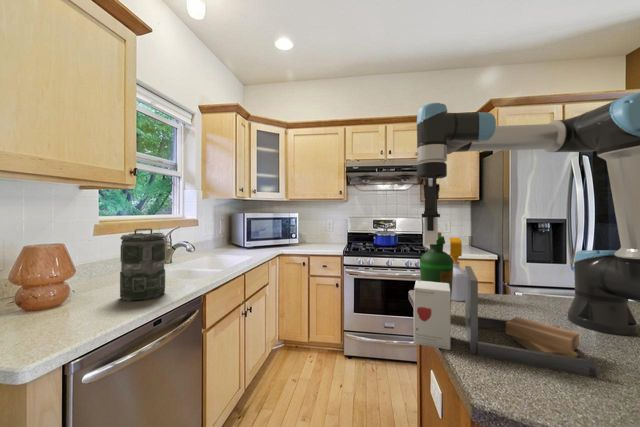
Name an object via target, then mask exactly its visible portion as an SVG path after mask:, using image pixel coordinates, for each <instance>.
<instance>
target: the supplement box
mask: <svg viewBox="0 0 640 427" xmlns="http://www.w3.org/2000/svg"><path fill="white" fill-rule="evenodd" d="M451 308H452V300H451V293H450V285H449V283H439V282H429V281H421V280H418V279H417V280H415V284H414V287H413V344H415V345H420V346H425V347H430V348H438V349H443V350H448V351H450V350H451V316H452V315H451V312H452V311H451V310H452V309H451Z"/></svg>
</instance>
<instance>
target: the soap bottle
mask: <svg viewBox="0 0 640 427" xmlns="http://www.w3.org/2000/svg"><path fill="white" fill-rule="evenodd" d="M448 239H449V243H450V244H449V248H450V249H449V253H448V254H449V255H450V256H451V257H452V259H453V260H454V263H453V280H452V297H451V302H452V301H454V302H465V269H463V268H461V266H460V261H458V259H459V257H462V254H463V253H462V249H463V247H462V239H461V237H449V238H448Z"/></svg>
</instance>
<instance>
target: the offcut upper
mask: <svg viewBox="0 0 640 427" xmlns="http://www.w3.org/2000/svg"><path fill="white" fill-rule="evenodd" d="M508 320H509V321H507V322H506V331H505V334H506V335H509V336H511V337H512V336H515V337H518V338H521V339H525V340H528V341H531V342H534V343H538V344H541V345H544V346H547V347H550V348H554V349H557V350H560V351H563V352H567V353H570V354H571V353H572V352H573V351H574V350H575V349H576V348H577V349H578V347H579V346H580V333H579V332H576V331H573V330H569V329H565V328H562V327H560V328H558V327H554V326H555V325H551V326H550V324H545V323H541V322H538V321H533V320H530V319H526V318H522V317H518V316H515V317H514V318H512V319H508Z"/></svg>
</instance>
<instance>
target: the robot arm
mask: <svg viewBox="0 0 640 427" xmlns="http://www.w3.org/2000/svg"><path fill="white" fill-rule="evenodd" d="M415 127H416V145H417V146H416V151H417V152H416V151H415V153H414V156H415V157H416V162H417V163H418V164H417V166H416V177H417V179H419V180H424V184H423V186H422V187H423V198H424V211H423V213H421V218H422V219H423V218H424V245H430V244H437V240H438V232H439V218H441V214H440V213H439V212H438V200H439V197H440V193H439V192H440V191H441V190H440V187H441V186H440V183H437V179H443V178H446V177H447V175H448V166H447V163H446V162H447V160H448V155H450V154H453V153H462V152H463V153H464V152H492V151H495V152H497V151H526V150H527V151H529V150H532V151H533V150H544V151H545V152H547V153H589V152H596V156H597V157H598V158H600V159H603V160H604V161H606V167H607V173H608V177H609V178H608V179H609V184H610V190H611V195H612V202H613V207H614V214H615V220H616V225H617V232H618V237H619V242H620V243H619V244H620V248H619V249H618V250H609V249H608V250H607V249H606V250H600V249H598V250H596V249H595V250H592V249H591V250H587V249H586V250H578V251H576V253H575V255H574V262H573V266H574V267H573V270H574V297H573V299H572V302H571V303H570V306H569V308H568V310H567V320H568V321H569V322H570V323H572V324H575V325H577V326H580V327H582V328H585V329H589V330H593V331H597V332H600V333H606V334H607V333H608V334H614V335H621V336H622V335H623V336H625V335H626V336H627V335H628V336H630V335H631V336H632V335H637V334H638V332H639V326H638V322H637V321H636V318H635V315H634V313H633V311H632V309H631V307H630V303H629V301H633V302H637V303H640V92H636V93H632V94H630V95H626V96H623V97H620V98H617V99H616V100H613V101H611V102H609V103H606V104H603V105H601V106H599V107H596V108H594V109H591V110H589V111H586V112H584V113H582V114H580V115H576V116H573V117H570V118H566V119H556V120H552V121H549V122H548V123H542V124H541V123H538V124H515V125H514V124H513V125H512V124H511V125H497V120H496V117H495V115H494V114H493V113H491V112H485V111H484V112H482V111H477V112H472V111H471V112H448V108H447V105H446V104H445V103H440V102H431V103H427V104H425V105H423V106H421V107H420V108H419V109H418V110H417V116H416V126H415Z"/></svg>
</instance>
